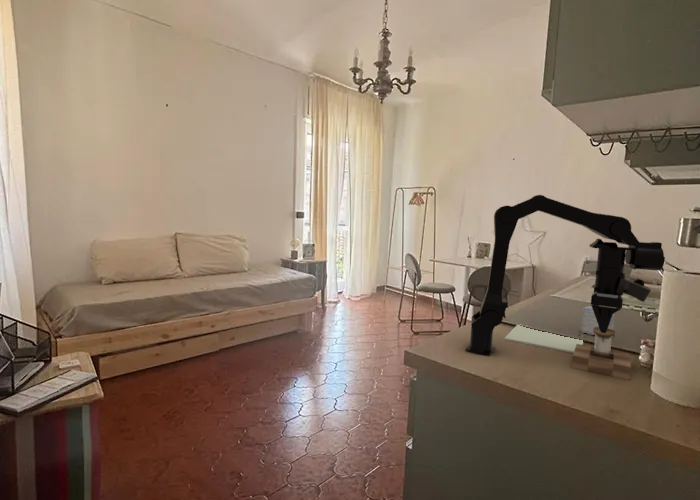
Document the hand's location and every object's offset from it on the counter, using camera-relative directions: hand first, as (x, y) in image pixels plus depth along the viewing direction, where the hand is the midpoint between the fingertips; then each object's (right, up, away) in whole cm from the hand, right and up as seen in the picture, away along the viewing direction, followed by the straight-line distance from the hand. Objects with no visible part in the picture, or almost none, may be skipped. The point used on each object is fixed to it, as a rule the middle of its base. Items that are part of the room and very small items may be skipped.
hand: (603, 328), depth 103 cm
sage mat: (-4, -8, +23) cm, 25 cm away
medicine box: (+15, -8, +29) cm, 34 cm away
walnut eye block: (0, -10, +1) cm, 10 cm away
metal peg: (0, -10, +1) cm, 10 cm away
